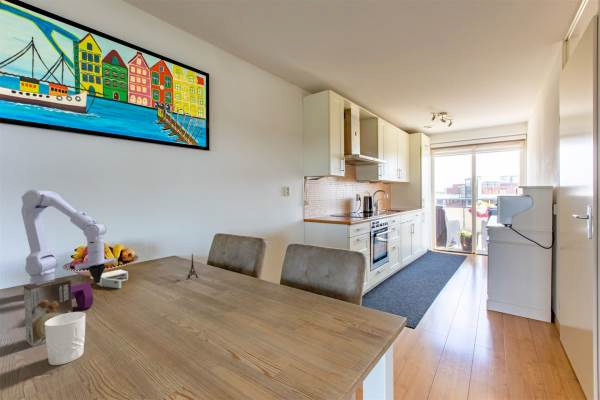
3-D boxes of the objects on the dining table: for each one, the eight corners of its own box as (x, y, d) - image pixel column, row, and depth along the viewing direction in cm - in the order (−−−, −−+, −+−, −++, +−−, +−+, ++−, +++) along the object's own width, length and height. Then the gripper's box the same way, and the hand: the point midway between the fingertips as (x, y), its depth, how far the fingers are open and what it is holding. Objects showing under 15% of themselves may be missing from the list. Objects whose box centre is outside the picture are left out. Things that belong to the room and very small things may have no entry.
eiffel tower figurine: (194, 273, 144) (193, 248, 144) (210, 275, 141) (209, 249, 141) (172, 282, 130) (172, 254, 130) (189, 284, 127) (189, 255, 127)
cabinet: (94, 283, 128) (94, 274, 128) (120, 277, 137) (120, 269, 137) (102, 286, 124) (102, 277, 124) (128, 279, 133) (128, 271, 133)
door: (103, 285, 124) (103, 277, 124) (121, 288, 121) (121, 279, 121) (101, 286, 123) (101, 278, 123) (118, 288, 120) (118, 280, 120)
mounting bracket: (44, 326, 98) (62, 314, 90) (39, 303, 100) (57, 290, 92) (75, 316, 107) (95, 304, 98) (71, 295, 108) (89, 282, 100)
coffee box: (65, 327, 85) (64, 276, 84) (74, 333, 81) (72, 279, 81) (24, 341, 77) (23, 285, 77) (32, 347, 73) (30, 289, 73)
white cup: (62, 349, 72) (61, 312, 72) (93, 347, 73) (92, 311, 73) (36, 368, 65) (35, 326, 64) (71, 366, 65) (70, 325, 65)
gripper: (78, 255, 108) (79, 289, 108) (119, 249, 120) (119, 279, 121) (72, 253, 112) (73, 286, 112) (111, 247, 124) (112, 277, 124)
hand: (97, 282), depth 117 cm, fingers closed
